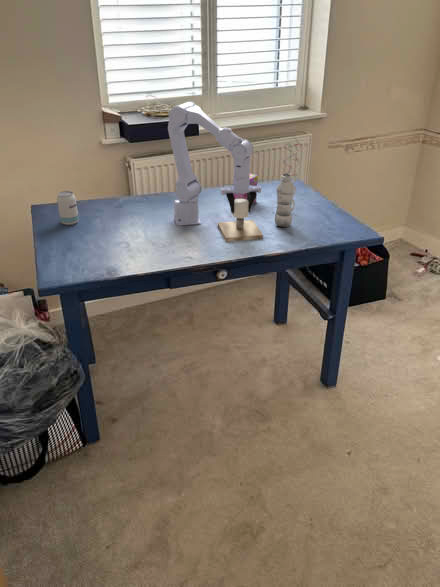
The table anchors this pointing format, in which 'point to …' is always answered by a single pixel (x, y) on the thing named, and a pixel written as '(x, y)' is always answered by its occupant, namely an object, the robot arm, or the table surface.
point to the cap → (241, 208)
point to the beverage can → (67, 208)
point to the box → (251, 183)
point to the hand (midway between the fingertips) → (240, 211)
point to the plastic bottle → (284, 201)
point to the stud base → (240, 230)
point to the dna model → (290, 166)
